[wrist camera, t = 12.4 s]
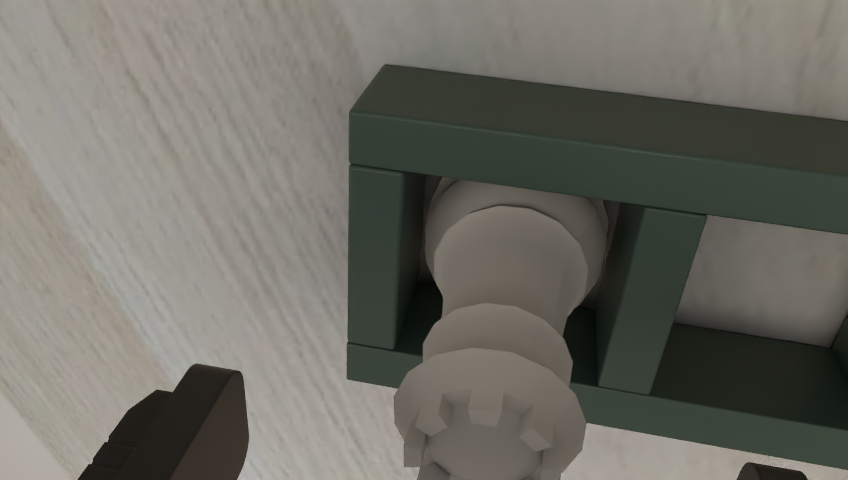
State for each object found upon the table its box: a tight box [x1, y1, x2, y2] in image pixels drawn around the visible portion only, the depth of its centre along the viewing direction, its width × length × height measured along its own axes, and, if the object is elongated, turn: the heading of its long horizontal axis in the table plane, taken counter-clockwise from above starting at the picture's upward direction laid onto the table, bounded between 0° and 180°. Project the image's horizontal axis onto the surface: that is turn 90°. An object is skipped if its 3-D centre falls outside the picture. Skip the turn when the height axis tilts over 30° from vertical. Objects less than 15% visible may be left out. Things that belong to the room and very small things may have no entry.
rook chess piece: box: [394, 177, 609, 480], centre depth 14 cm, size 4×4×8 cm
